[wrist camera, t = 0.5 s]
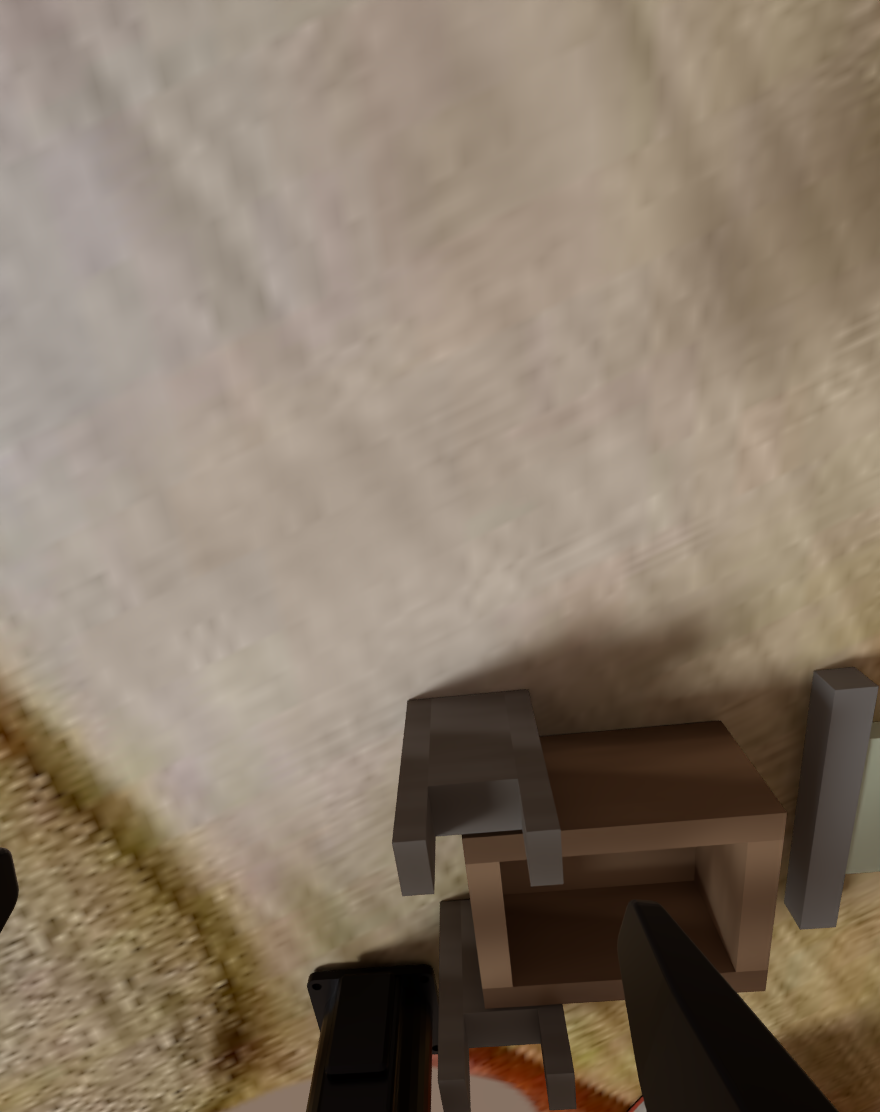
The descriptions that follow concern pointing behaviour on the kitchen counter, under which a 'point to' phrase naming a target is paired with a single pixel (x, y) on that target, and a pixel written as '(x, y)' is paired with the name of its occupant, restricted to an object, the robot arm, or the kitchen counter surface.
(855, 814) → the door
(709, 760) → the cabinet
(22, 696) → the kitchen counter surface
